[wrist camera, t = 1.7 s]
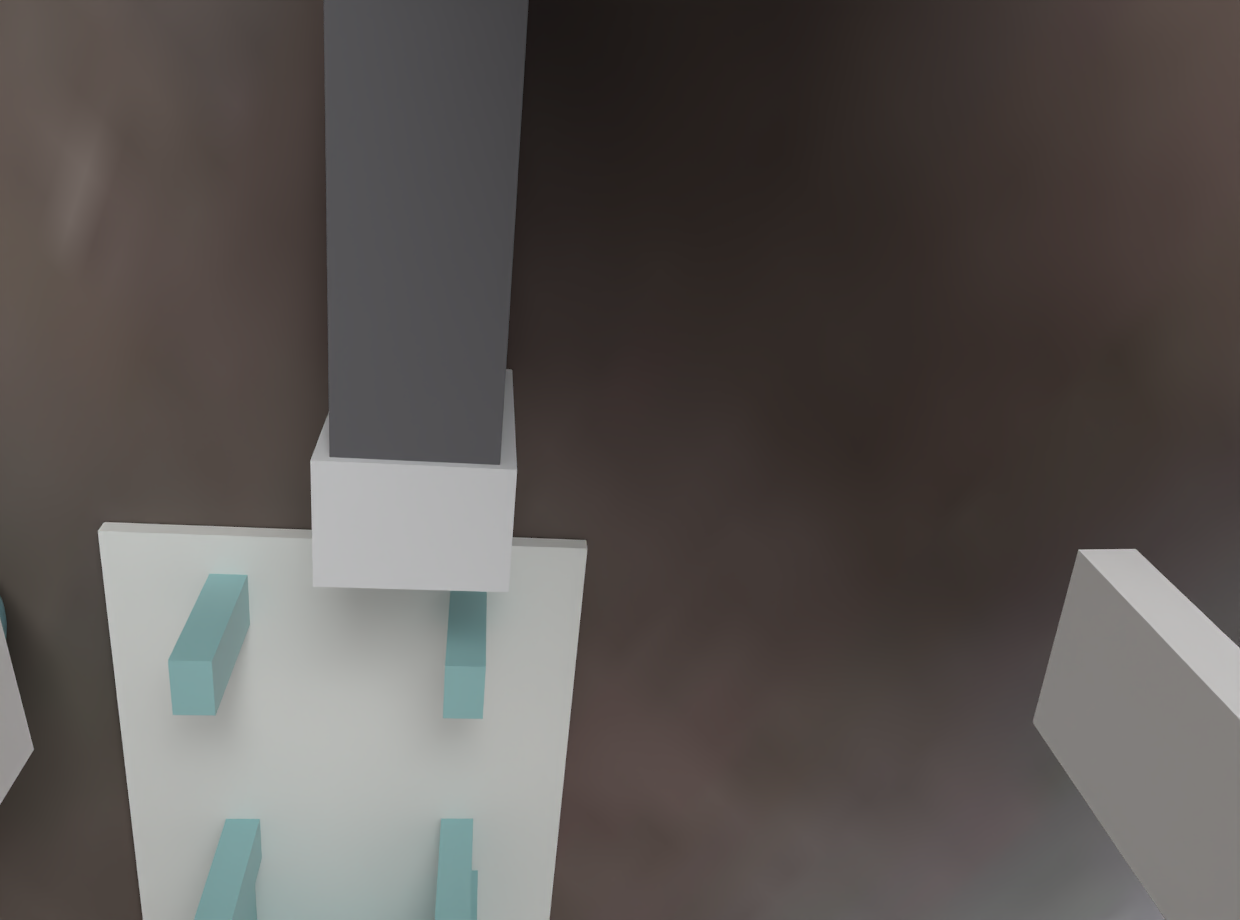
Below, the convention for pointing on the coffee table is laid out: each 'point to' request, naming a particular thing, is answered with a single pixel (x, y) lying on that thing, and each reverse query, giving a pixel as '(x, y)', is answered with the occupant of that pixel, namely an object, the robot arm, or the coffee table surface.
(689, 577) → the coffee table surface
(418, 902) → the board
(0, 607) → the flower pot
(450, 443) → the bar
